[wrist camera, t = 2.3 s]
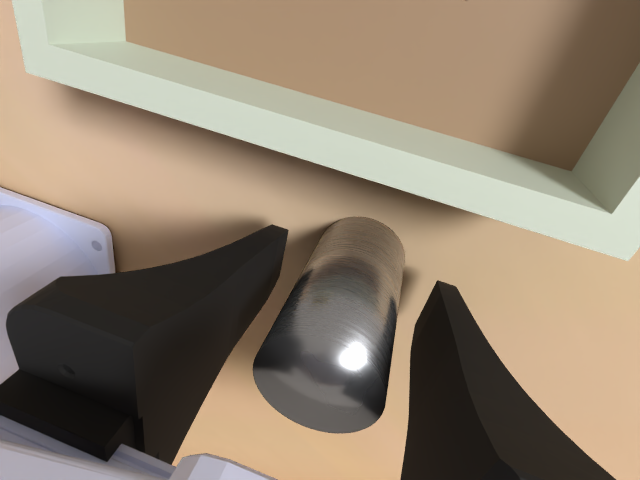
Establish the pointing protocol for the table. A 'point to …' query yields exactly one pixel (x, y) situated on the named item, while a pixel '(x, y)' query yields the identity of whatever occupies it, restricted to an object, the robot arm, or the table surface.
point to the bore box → (389, 92)
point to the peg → (336, 331)
